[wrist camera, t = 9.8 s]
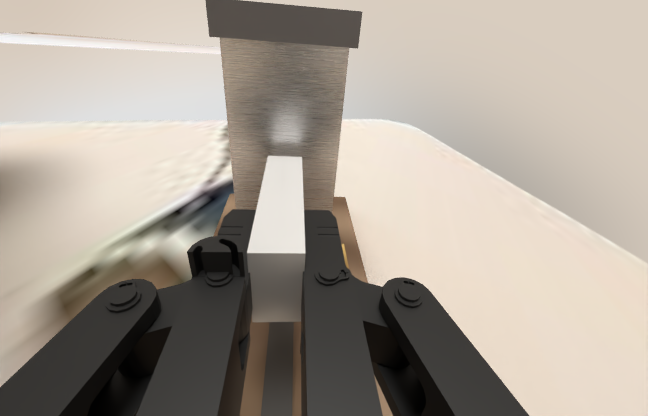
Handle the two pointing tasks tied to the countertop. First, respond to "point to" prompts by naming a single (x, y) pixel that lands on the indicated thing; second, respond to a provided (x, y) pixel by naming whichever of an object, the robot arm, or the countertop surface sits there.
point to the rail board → (289, 341)
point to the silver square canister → (283, 90)
